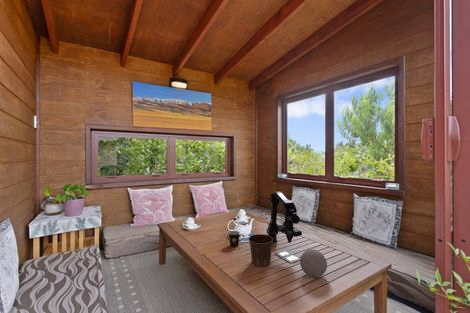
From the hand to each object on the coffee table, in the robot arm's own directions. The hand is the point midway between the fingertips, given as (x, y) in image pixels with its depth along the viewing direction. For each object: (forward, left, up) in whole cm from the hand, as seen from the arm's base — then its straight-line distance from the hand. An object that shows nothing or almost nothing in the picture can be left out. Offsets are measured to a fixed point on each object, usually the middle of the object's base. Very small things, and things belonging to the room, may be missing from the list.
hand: (289, 242), depth 157 cm
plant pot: (+20, -5, -11) cm, 24 cm away
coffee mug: (+21, -38, -11) cm, 45 cm away
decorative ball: (+4, +24, -11) cm, 27 cm away
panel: (0, -2, -11) cm, 11 cm away
